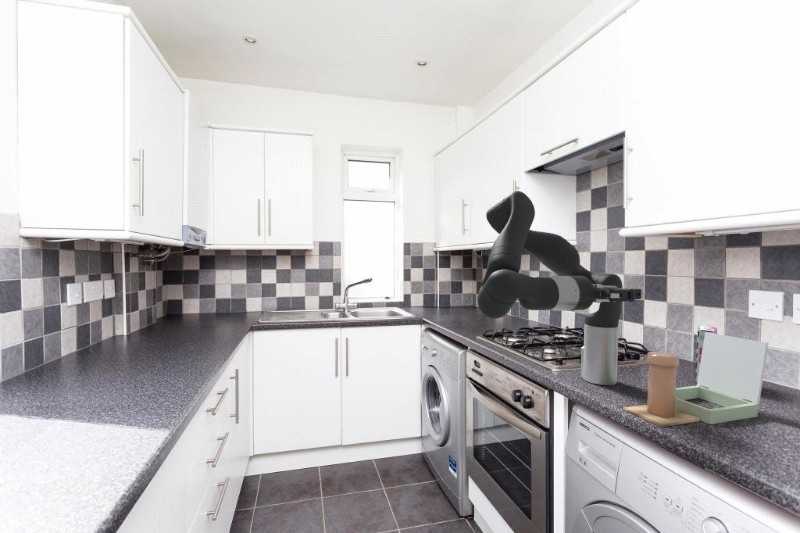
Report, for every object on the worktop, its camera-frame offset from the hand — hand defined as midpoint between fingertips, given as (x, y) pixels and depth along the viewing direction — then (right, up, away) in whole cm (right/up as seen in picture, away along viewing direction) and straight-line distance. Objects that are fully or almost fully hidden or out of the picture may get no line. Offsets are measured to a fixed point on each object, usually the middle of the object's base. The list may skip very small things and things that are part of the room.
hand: (623, 292), depth 88 cm
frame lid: (+34, -27, +12) cm, 45 cm away
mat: (+12, -30, +5) cm, 33 cm away
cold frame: (+25, -30, +9) cm, 40 cm away
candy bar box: (+45, -30, +33) cm, 63 cm away
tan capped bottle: (+11, -29, +4) cm, 32 cm away
